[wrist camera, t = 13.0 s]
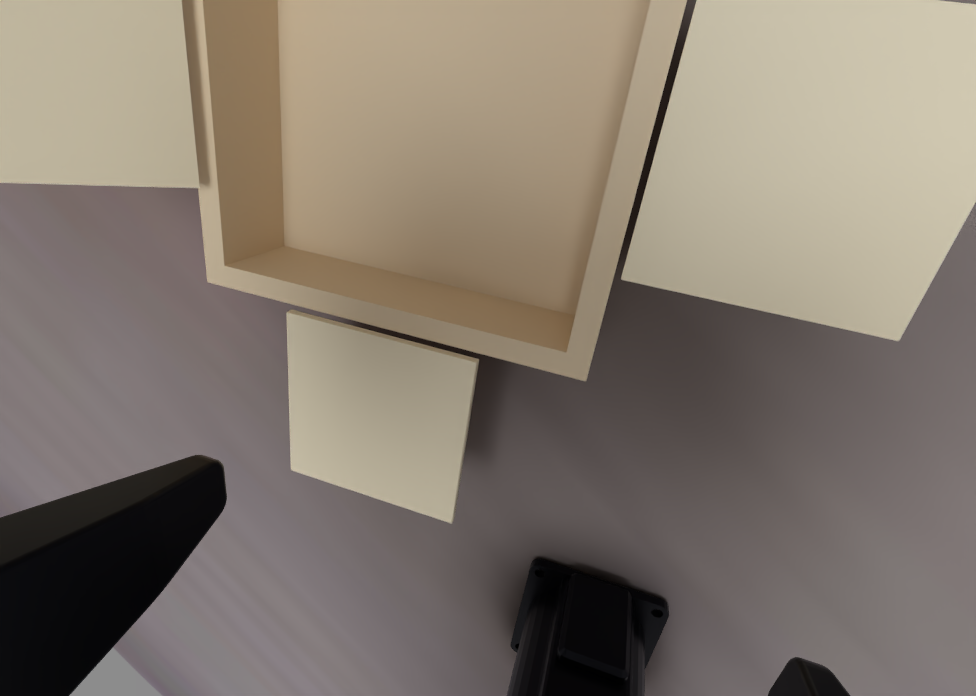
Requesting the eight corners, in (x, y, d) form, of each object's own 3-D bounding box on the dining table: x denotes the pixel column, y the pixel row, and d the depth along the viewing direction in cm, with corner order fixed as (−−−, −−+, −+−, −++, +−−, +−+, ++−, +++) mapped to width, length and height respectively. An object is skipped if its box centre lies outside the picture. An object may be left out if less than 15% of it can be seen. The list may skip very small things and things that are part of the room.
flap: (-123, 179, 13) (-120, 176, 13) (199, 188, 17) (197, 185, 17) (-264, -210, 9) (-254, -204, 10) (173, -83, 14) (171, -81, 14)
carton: (727, 532, 21) (744, 621, 17) (282, 397, 25) (217, 445, 21) (1038, -124, 12) (1217, -237, 8) (262, -173, 16) (144, -264, 12)
